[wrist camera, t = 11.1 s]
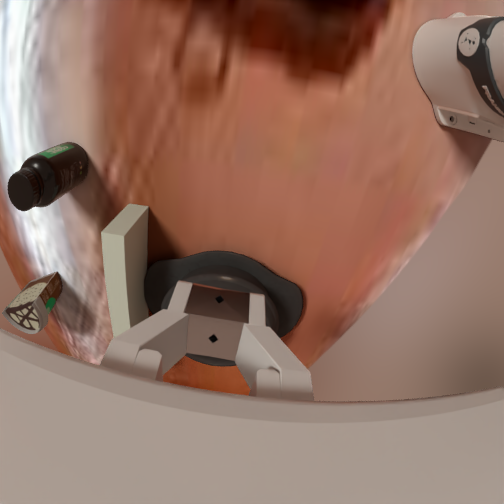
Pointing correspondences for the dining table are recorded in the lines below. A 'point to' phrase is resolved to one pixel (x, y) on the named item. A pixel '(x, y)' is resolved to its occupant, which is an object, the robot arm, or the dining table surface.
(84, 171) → the supplement bottle
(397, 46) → the dining table surface
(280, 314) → the casserole
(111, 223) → the board
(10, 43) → the dining table surface
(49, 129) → the dining table surface
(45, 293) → the food container
